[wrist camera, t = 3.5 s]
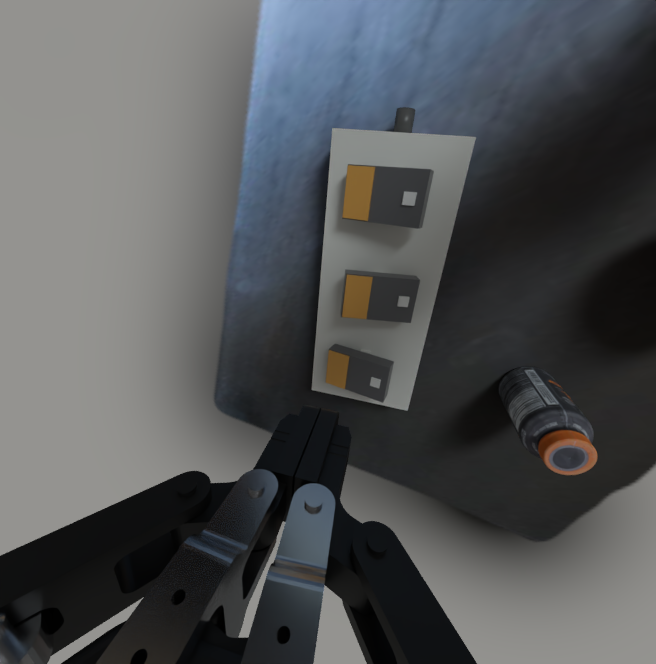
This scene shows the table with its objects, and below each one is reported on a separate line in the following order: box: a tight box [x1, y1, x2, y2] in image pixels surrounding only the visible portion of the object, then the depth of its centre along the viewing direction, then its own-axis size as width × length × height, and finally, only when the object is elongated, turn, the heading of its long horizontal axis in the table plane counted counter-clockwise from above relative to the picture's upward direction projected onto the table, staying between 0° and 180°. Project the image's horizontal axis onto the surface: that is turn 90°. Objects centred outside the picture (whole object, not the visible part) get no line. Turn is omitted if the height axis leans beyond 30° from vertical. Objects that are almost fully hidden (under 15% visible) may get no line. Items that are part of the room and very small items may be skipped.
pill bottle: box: [498, 367, 597, 475], centre depth 31 cm, size 6×6×11 cm
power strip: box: [312, 108, 476, 411], centre depth 33 cm, size 12×30×4 cm, turn 175°
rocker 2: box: [340, 269, 420, 323], centre depth 30 cm, size 7×4×2 cm, turn 85°
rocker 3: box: [325, 344, 394, 403], centre depth 34 cm, size 7×4×2 cm, turn 85°
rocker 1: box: [342, 164, 434, 229], centre depth 26 cm, size 7×4×2 cm, turn 85°
